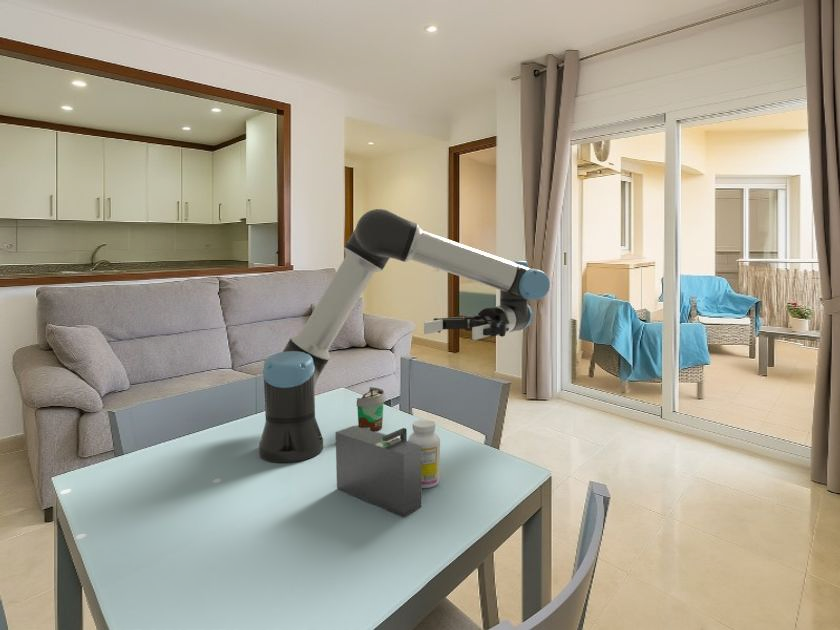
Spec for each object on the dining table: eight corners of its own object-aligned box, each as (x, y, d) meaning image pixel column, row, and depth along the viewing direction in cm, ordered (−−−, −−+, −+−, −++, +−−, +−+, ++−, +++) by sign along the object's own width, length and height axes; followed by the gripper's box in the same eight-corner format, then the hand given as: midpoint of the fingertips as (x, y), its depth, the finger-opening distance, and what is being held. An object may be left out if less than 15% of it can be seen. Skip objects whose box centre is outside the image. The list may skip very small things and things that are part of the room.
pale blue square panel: (355, 487, 101) (354, 427, 99) (376, 477, 105) (375, 420, 104) (392, 502, 95) (392, 439, 93) (413, 491, 99) (412, 430, 98)
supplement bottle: (417, 472, 110) (417, 416, 108) (445, 479, 107) (445, 420, 105) (402, 485, 104) (402, 425, 102) (431, 492, 101) (431, 430, 99)
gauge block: (336, 489, 102) (335, 431, 101) (354, 480, 106) (353, 424, 105) (404, 517, 91) (403, 452, 90) (421, 506, 95) (421, 444, 94)
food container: (379, 437, 132) (378, 399, 130) (357, 435, 133) (356, 398, 132) (391, 421, 144) (391, 387, 142) (370, 420, 145) (370, 386, 144)
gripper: (539, 340, 124) (495, 353, 108) (456, 330, 140) (407, 341, 123) (540, 310, 124) (496, 318, 107) (456, 304, 139) (406, 310, 123)
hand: (448, 330), depth 115 cm, fingers open, 13 cm apart
